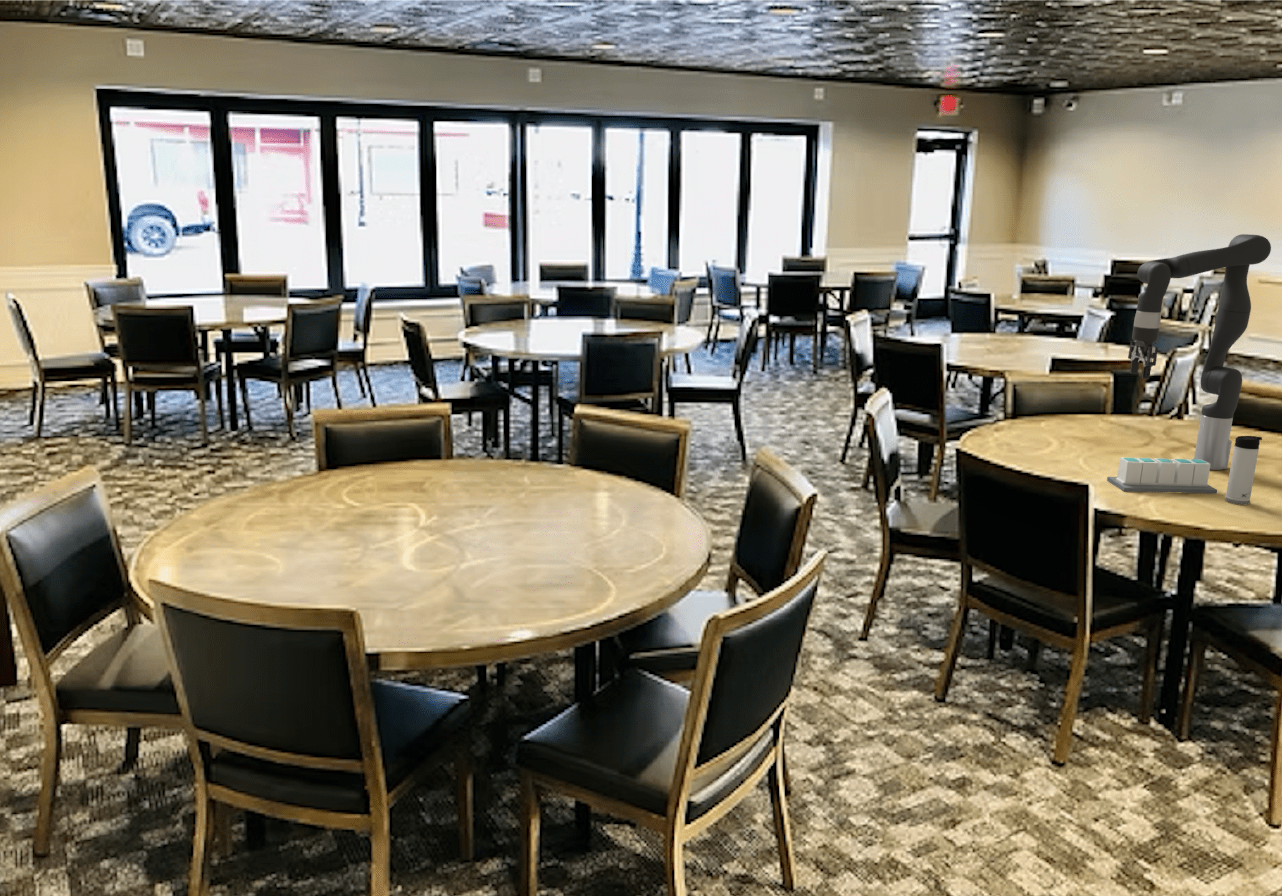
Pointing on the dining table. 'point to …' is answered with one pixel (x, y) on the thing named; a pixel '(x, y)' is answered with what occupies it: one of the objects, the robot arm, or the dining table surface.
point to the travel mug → (1242, 469)
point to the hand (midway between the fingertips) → (1139, 375)
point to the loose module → (1165, 471)
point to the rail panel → (1144, 471)
